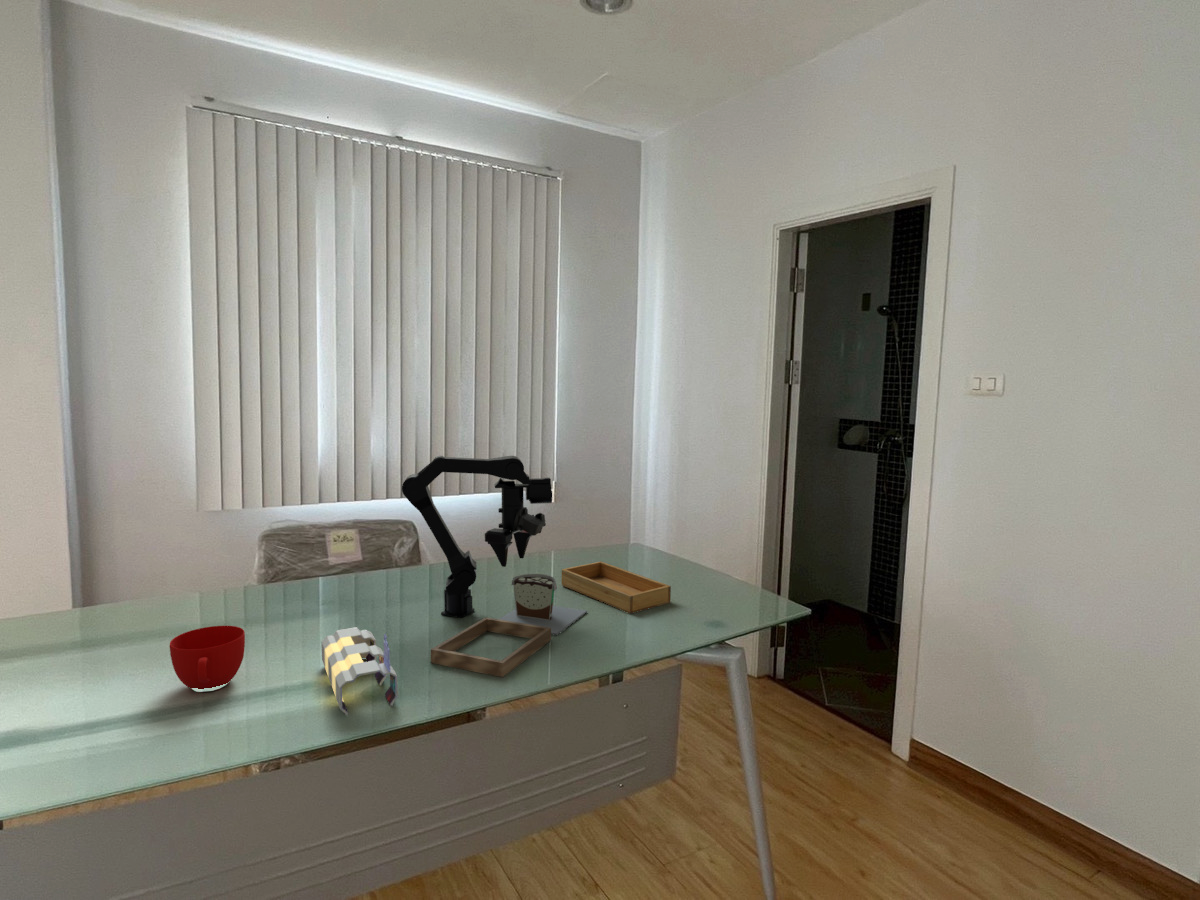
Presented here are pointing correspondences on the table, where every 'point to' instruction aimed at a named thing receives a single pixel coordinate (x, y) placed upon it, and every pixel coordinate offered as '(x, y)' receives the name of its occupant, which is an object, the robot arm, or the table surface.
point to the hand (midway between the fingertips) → (512, 562)
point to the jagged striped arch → (356, 661)
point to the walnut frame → (448, 657)
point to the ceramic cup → (208, 655)
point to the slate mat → (558, 621)
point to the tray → (616, 586)
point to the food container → (534, 595)
